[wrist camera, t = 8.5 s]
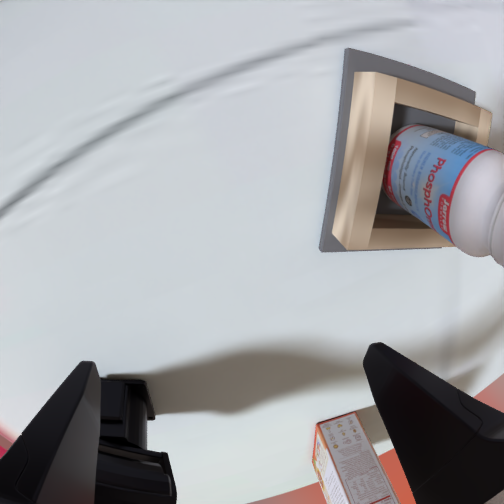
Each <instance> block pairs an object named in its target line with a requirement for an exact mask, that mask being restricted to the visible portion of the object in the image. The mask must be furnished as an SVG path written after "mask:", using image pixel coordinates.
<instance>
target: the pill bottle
mask: <svg viewBox="0 0 504 504" xmlns="http://www.w3.org/2000/svg"><path fill="white" fill-rule="evenodd" d="M381 187H382V189H383V191H384V193H385V194H386V195H387V196H388V198H389V199H390V200H392V201H393V202H395V203H396V204H397V205H399V206H400V207H402V208H403V209H405V210H406V211H408V212H409V213H411V214H412V215H413V216H415V217H416V218H418V219H419V220H421V221H422V222H423V223H425V224H426V225H428V226H429V227H430V228H432V229H433V230H434V231H435V232H437V233H438V234H440V235H441V236H443V237H444V238H445V239H447V240H448V241H449V242H451V243H452V244H453V245H455V246H456V247H457V248H458V249H460V250H461V251H463V252H464V253H466V254H468V255H470V256H474V257H485V256H488V255H491V256H492V257H493V258H494V260H495V261H496V262H497V263H498V264H500V265H502V266H503V267H504V154H503V153H501V152H499V151H497V150H494V149H492V148H489V147H487V146H484V145H482V144H479V143H476V142H473V141H471V140H468V139H465V138H462V137H459V136H456V135H453V134H450V133H447V132H444V131H441V130H438V129H435V128H431V127H428V126H424V125H420V124H411V125H407V126H405V127H402V128H400V129H399V130H397V131H396V132H394V133H393V134H392V135H391V136H390V138H389V145H388V151H387V157H386V163H385V168H384V174H383V179H382V184H381Z"/></svg>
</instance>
